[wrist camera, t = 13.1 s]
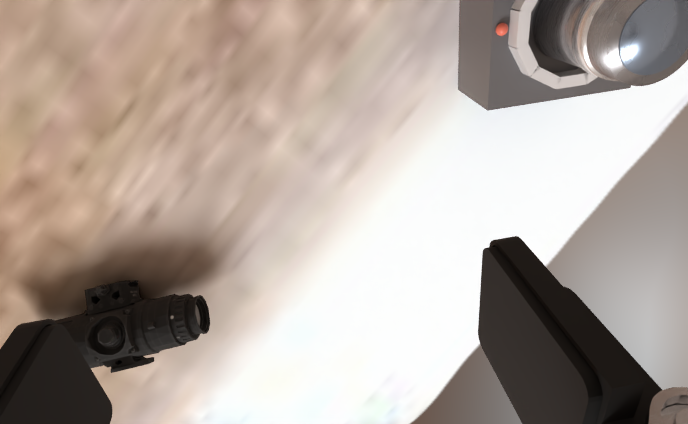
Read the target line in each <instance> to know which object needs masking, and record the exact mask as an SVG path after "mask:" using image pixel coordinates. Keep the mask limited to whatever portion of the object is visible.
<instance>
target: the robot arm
mask: <svg viewBox="0 0 688 424" xmlns="http://www.w3.org/2000/svg"><path fill="white" fill-rule="evenodd" d="M478 335H479V340H480V344H481V346H482V349H483V350H484V352H485V354H486V356H487V358H488V360H489V362H490V364H491V365H492V367H493V369H494V371H495V373H496V375H497V377H498V379H499V380H500V382H501V384H502V386H503V388H504V390H505V392H506V394H507V395H508V397H509V399H510V401H511V403H512V405H513V407H514V409H515V410H516V412H517V414H518V416H519V418H520V420H521V422H522V424H688V388H687V387H686V388H685V387H680V388H679V387H678V388H677V387H673V388H669V389H666V390H662V389H661V388H660V387H659V386H658V385H657V384H656V383H655V382H654V381H653V379H652V378H651V377H650V376H649V375H648V374H647V373H646V372H645V370H644V369H643V368H642V367H641V366H640V365H639V364H638V363H637V362H636V360H635V359H634V358H633V357H632V356H631V355H630V354H629V353H628V352H627V351H626V349H625V348H624V347H623V346H622V345H621V344H620V343H619V342H618V340H617V339H616V338H615V337H614V336H613V335H612V334H611V333H610V332H609V330H608V329H607V328H606V327H605V326H604V325H603V324H602V323H601V322H600V320H599V319H598V318H597V317H596V316H595V315H594V314H593V313H592V312H591V311H590V309H589V308H588V307H587V306H586V305H585V304H584V303H583V302H582V300H581V299H580V298H579V297H578V296H577V295H576V294H575V293H574V292H573V291H572V290H570V289H569V288H566V287H563V286H562V285H561V284H560V283H559V282H558V280H557V279H556V278H555V277H554V276H553V275H552V274H551V272H550V271H549V270H548V269H547V268H546V267H545V266H544V265H543V263H542V262H541V261H540V260H539V259H538V258H537V257H536V255H535V254H534V253H533V252H532V251H531V250H530V249H529V247H528V246H527V245H526V244H525V243H524V242H523V241H522V240H521V239H520V238H519V237H516V236H515V237H509V238H504V239H498V240H493V241H491V243H490V247H489V248H485V249H484V250H483V258H482V275H481V292H480V310H479V327H478ZM111 418H112V405H111V402H110V400H109V398H108V397H107V395H106V393H105V392H104V390H103V388H102V387H101V385H100V383H99V382H98V380H97V378H96V377H95V375H94V374H93V372H92V370H91V369H90V367H89V365H88V364H87V362H86V360H85V359H84V357H83V355H82V354H81V352H80V350H79V349H78V347H77V345H76V344H75V342H74V340H73V339H72V337H71V336H70V334H69V332H68V331H67V329H66V328H65V326H64V325H62V324H57V323H56V322H55V321H54V320H52V319H46V320H40V321H35V322H29V323H23V324H20V325H18V326H17V327H16V328H15V329H14V331H13V332H12V333H11V335H10V336H9V338H8V339H7V340H6V342H5V343H4V345H3V346H2V348H1V349H0V424H110V421H111Z"/></svg>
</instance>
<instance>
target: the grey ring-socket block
mask: <svg viewBox="0 0 688 424" xmlns="http://www.w3.org/2000/svg"><path fill="white" fill-rule="evenodd" d="M539 2H540V0H460V13H459V68H458V90H460V91H461V92H462V93H464V94H465V95H467V96H468V97H469V98H471V99H472V100H474V101H475V102H476V103H478V104H479V105H481V106H482V107H483V108H485V109H486V110H493V109H500V108H506V107H512V106H519V105H525V104H531V103H538V102H544V101H550V100H557V99H563V98H569V97H575V96H582V95H588V94H594V93H601V92H607V91H613V90H620V89H626V88H630V87H631V85H629V84H626V83H623V82H620V81H610V80H606V79H603V78H600V77H597V76H594V75H592V74H589V73H587V72H586V71H584V70H583V69H582V68H580V67H577V66H574V65H571V64H568V63H566V62H563V61H560V60H557V59H554V58H551V57H549V56H547V55H545V54H544V53H542V52H541V51H540V50H539V48H538V47H537V45H536V43H535V41H534V38H533V33H532V23H533V17H534V13H535V10H536V8H537V6H538V4H539Z"/></svg>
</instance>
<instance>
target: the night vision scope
mask: <svg viewBox="0 0 688 424" xmlns="http://www.w3.org/2000/svg"><path fill="white" fill-rule="evenodd" d="M85 295H86V302H87V309H88V310H86V311H85V314H82V315H77V316H73V317H68V318H64V319H60V320H55V322H56V323H57V324H62V325H64V326H65V328H66V329H67V331H68V332H69V334H70V336H71V337H72V339H73V340H74V342H75V344H76V345H77V347H78V349H79V350H80V352H81V354H82V355H83V357H84V359H85V360H86V362H87V364H88V365H89V367H90V368H94V367H98V366H103V365H104V366H106V367H111V373H112V372H117V371H121V370H125V369H129V368H133V367H137V366H142V365H145V364H149V363H151V362H154V357H151V358H145V357H143V356H145V355H150V354H155V353H159V352H160V351H161V350H165V349H169V348H173V347H177V346H181V345H185V344H186V343H187V342H189V341H193V340H196V339H197V338H198V337H199V335H200V334H201V333H202V334H206V333H207V332H208V331H209V326H210V318H209V310H208V306H207V304H206V301H205V299H204V298H203V296H201V295H199V296H196V297H193V296H192V295H190V294H186V295H181V296H179V295H175V294H174V295H170V296H166V297H162V298H158V299H154V300H153V299H147V300H143V298H142V299H140V295H139V286H138V281H134V282H129V281H123V282H118V283H113V284H109V285H101V286H96V288H92V289H87V290H85Z"/></svg>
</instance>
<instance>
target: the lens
mask: <svg viewBox="0 0 688 424" xmlns="http://www.w3.org/2000/svg"><path fill="white" fill-rule="evenodd" d="M532 33H533V38H534V41H535V43H536V45H537V47H538V48H539V50H540V51H541V52H542V53H544V54H545V55H547V56H549V57H551V58H554V59H557V60H560V61H563V62H566V63H568V64H571V65H574V66H577V67H580V68H582V69H583V70H584V71H586V72H587V73H589V74H592V75H594V76H597V77H600V78H603V79H606V80H610V81H620V82H623V83H626V84H629V85H634V86H644V85H650V84H653V83H656V82H659V81H661V80H663V79H665V78H667V77H668V76H670V75H671V74H673V73H674V72H675V71H676V70H678V69H679V68H680V67H681V66H682V65H683V64H684V63H685V62H686V61H687V60H688V0H540V2H539V4H538V6H537V8H536V10H535V13H534V17H533V23H532Z"/></svg>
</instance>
